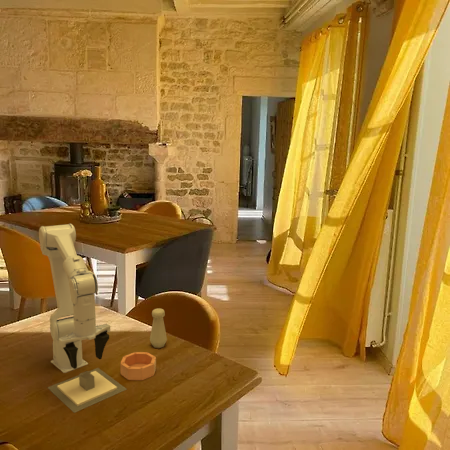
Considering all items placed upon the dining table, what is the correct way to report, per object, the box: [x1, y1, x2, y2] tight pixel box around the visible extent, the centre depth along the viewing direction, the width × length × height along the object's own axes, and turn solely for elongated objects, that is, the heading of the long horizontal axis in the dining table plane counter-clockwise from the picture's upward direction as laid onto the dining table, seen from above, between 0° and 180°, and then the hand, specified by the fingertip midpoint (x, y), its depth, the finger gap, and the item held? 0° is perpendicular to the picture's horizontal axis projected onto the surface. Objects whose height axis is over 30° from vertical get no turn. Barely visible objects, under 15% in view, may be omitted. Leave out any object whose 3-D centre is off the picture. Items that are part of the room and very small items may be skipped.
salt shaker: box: [149, 307, 168, 349], centre depth 155 cm, size 6×6×13 cm
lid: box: [57, 370, 117, 406], centre depth 128 cm, size 12×12×4 cm
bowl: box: [119, 351, 157, 381], centre depth 138 cm, size 10×10×4 cm
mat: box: [46, 367, 128, 414], centre depth 129 cm, size 16×16×1 cm
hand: (86, 362), depth 127 cm, fingers open, 7 cm apart
